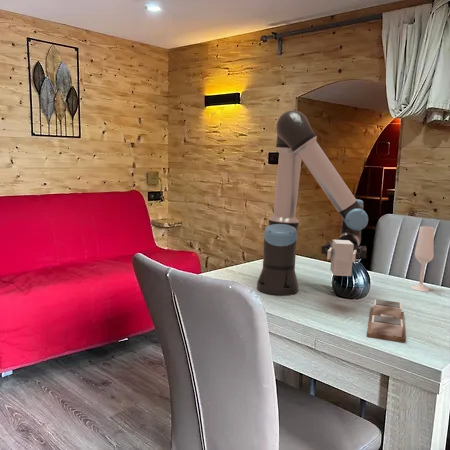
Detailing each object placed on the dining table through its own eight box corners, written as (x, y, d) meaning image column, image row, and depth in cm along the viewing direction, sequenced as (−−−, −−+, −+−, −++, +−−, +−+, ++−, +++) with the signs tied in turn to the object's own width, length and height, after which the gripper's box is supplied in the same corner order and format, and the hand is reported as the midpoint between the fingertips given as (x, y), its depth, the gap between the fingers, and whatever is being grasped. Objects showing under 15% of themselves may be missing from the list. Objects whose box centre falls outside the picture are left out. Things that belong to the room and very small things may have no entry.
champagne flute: (407, 287, 175) (413, 226, 171) (417, 285, 179) (423, 225, 175) (424, 292, 169) (430, 229, 166) (433, 289, 173) (440, 227, 170)
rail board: (366, 336, 124) (367, 321, 123) (370, 310, 146) (371, 297, 146) (405, 342, 121) (407, 327, 120) (403, 314, 143) (404, 301, 142)
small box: (351, 276, 143) (354, 244, 142) (333, 275, 143) (336, 243, 142) (347, 271, 151) (349, 240, 149) (330, 269, 151) (332, 239, 150)
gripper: (375, 257, 160) (373, 272, 139) (319, 251, 167) (308, 264, 145) (377, 237, 159) (375, 248, 138) (320, 231, 166) (310, 241, 144)
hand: (340, 256), depth 141 cm, fingers closed on small box, 7 cm apart
